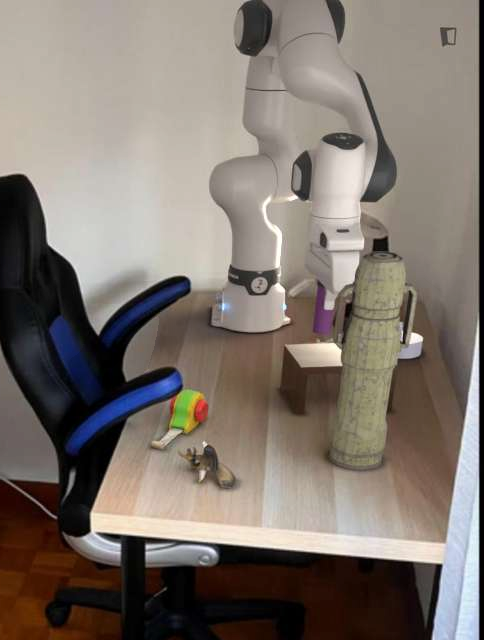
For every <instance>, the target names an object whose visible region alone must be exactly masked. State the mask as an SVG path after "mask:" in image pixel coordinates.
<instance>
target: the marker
mask: <svg viewBox="0 0 484 640" xmlns="http://www.w3.org/2000/svg"><path fill="white" fill-rule="evenodd" d="M317 285H318V286H317V296H316V295H315V307H314V316H313V324H312V333H314V334H317V335H329V334H330V333H331V331H332V330H331V328H332V320H333V311H334V309H332V310H325V309H324V308H323V307H322V304H323V299H324V298H325V293H326V292H325V286H324V285H323V284H322V283H321V282H320V281H319V280H318V279H317Z"/></svg>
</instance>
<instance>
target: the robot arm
mask: <svg viewBox="0 0 484 640" xmlns="http://www.w3.org/2000/svg"><path fill="white" fill-rule="evenodd" d="M345 10H346V9H345V7H344V5H343V3H342V1H341V0H247V1H244V2H243V4H241V6H239V8H238V10H237V13H236V16H235V19H234V22H233V29H232V32H233V39H234V45H235V48H236V49H237V50H238V52H239V53H240V54H241V55H244V56H247V57H249V60H248V67H247V70H246V77H245V85H244V95H243V97H244V98H243V109H242V118H241V119H242V120H241V121H242V125H243V127H244V129H245V131H246V132H247V133H248V134H250V135H251V136H253V137H254V138H256V140H257V145H258V153H257V154H254V155H244V156H236V157H233V158H230V159H227V160H224V161H222V162H220V163H217V164H216V165H215V166H214V167H213V169H212V171H211V173H210V176H209V180H208V189H209V194H210V197H211V198H212V201H213V202H214V203H215V204H216V205H217V206H218V207H219V208H221V210H222V211H223V212H224V214H225V215H226V217H227V219H228V221H229V224H230V229H231V260H230V261H231V263H230V264H229V267H228V270H227V271H228V272H227V281H226V283H225V284H224V285H223V287H222V290H221V292H219V291H218V292H215V297H214V302H215V303H216V304H213V305H212V308H211V309H212V310H211V319H210V321H211V322H210V325H211V326H213V327H219V328H224V329H227V330H230V331H234V332H241V333H264V332H265V333H266V332H271V331H275V330H277V329H279V328H281V327H282V326H285V325H288V324H291V318H290V317H288V316H287V315H286V314H285V310H287V305H286V304H285V303H286V290H285V288H284V286H282V285H281V284H280V281H281V276H282V266H281V265H280V263H281V251H282V240H283V239H282V238H283V236H282V232H281V230H280V228H279V227H278V226H277V225H275V224H274V223H272V222H271V221H269V220H268V217H267V211H266V207H267V205H273V204H281V203H287V202H290V201H293V200H296V199H299V200H300V201H301V202H306V203H310V204H311V207H310V208H309V209H310V210H309V212H308V222H307V230H306V241H307V242H306V249H305V255H304V268H305V269H306V270H307V272H309V273H310V274H311V275H312V276H313V277H314V287H315V297H316V296H317V286H318V285H317V279H318V280H319V281H320V282H321V283H322V284H323V285H324V286H325V292H326V293H325V298H324V299H323V304H322V307H323V308H324V309H325V310H332V309H333V310H334V309H335V301H336V299H337V298H338V296H339V292H340V291H341V290H342V289H343V287H344V286H345V285H348V284H353V282H354V279H355V272H356V269H357V267H358V265H359V263H360V251H363V250H364V248H365V247H364V246H365V237H364V234H363V232H362V229H361V223H360V221H361V215H362V214H361V213H362V212H361V211H362V210H361V206H360V205H361V203H362V204H377V203H379V202H380V201H381V200H383V199H384V198H385V197H386V196H387V195H388V194H390V192H391V191H392V190H393V189H394V187H395V186H396V183H397V177H398V166H397V161H396V158H395V156H394V154H393V152H392V150H391V149H390V147H389V145H388V143H387V141H386V139H385V136H384V133H383V131H382V127H381V124H380V121H379V118H378V116H377V113H376V110H375V107H374V104H373V101H372V98H371V95H370V92H369V89H368V88H367V85H366V83H365V81H364V78H363V76H362V74H360V73H359V72H357V71H356V70H355V69H353V68H352V67H351V66H350V65H349V64H348V63H347V61H346V60H345V58H344V57H343V55H342V53H341V51H340V49H339V48H340V47H339V45H340V43H341V41H342V39H343V36H344V32H345V28H346V11H345ZM297 100H300V101H302V102H305V103H308V104H313V105H316V106H320V107H323V108H327V109H329V110H331V111H334V112H336V113H337V114H339V115H341V116H342V118H344V120H345V121H346V123H347V125H348V128H349V131H350V133H349V132H332V133H328V134H326V135H323V136H322V137H321V138H320V140H319V141H318V145H317V146H316V147H313V148H310V149H306V150H304V151H303V150H302V148H301V146H300V144H299V141H298V138H297V133H296V125H295V124H296V121H295V120H296V108H297V107H296V106H297ZM350 294H353V291H350V293H349V294H348V295H350Z"/></svg>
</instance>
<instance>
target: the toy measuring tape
mask: <svg viewBox="0 0 484 640" xmlns="http://www.w3.org/2000/svg"><path fill="white" fill-rule="evenodd" d="M169 413H170V415H171V419H170V421H169V425H168V431H167V432H166V434H165V435H164V436H163V437H161V439H160V440H154V439H153V440H151V443H150V447H152V448H154V449H158V450H164V447H166V446H167V445H168V444H169V443H170V442H171V441H173V440H174V439H175V438H176V437H177V436H178V435H180V434H185V435H186V434H188V433H190V432H191V431H192V430H194V429H195V428H196V427H197V426H198V425H199V424H200V423H203V422H204V421H205V420H206V419H207V417H208V414H209V403H208V402H207V400H206V398H205V396H204V394H203V393H201V392H200V391H197V390H192V389H184V390H181V391H180V392H179V393H177V394H176V395H175V396H174V397H173V398H172V399H171V401H170V403H169Z"/></svg>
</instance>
